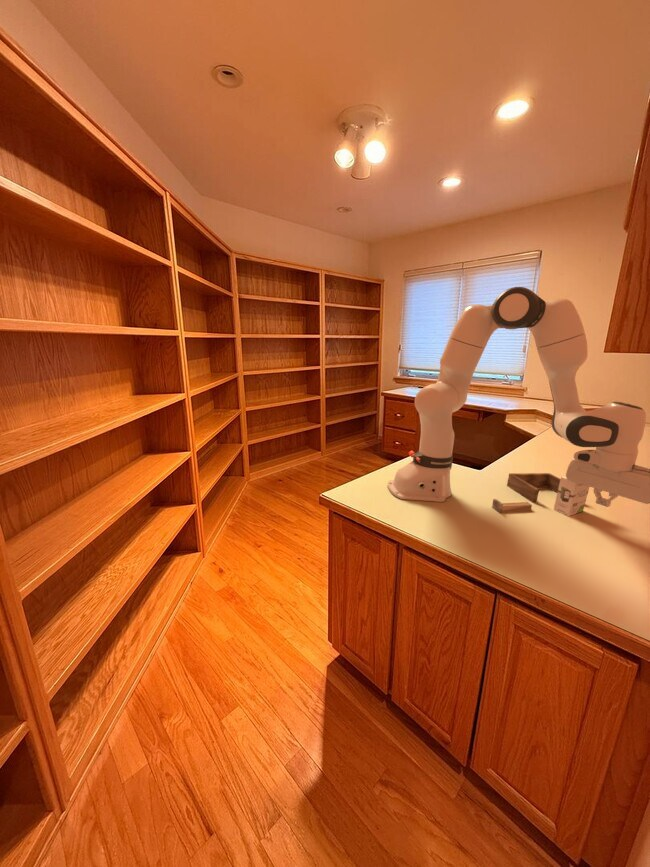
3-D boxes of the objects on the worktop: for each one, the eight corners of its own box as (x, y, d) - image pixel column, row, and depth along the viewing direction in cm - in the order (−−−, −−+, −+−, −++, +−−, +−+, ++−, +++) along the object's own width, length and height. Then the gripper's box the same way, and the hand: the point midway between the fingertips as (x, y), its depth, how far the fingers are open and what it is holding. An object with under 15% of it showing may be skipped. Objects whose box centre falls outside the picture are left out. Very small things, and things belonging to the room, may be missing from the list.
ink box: (567, 504, 110) (575, 472, 107) (583, 511, 106) (592, 478, 103) (552, 509, 107) (560, 476, 104) (569, 516, 102) (577, 482, 99)
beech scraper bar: (532, 511, 105) (534, 502, 104) (499, 513, 103) (500, 504, 102) (524, 506, 109) (526, 497, 108) (491, 508, 107) (493, 499, 106)
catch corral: (533, 502, 111) (536, 489, 110) (506, 485, 125) (509, 473, 123) (577, 502, 113) (580, 488, 111) (546, 485, 126) (549, 473, 125)
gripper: (668, 469, 84) (654, 518, 88) (578, 449, 101) (569, 489, 105) (659, 474, 81) (645, 523, 85) (568, 451, 98) (559, 493, 102)
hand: (602, 504), depth 95 cm, fingers closed
